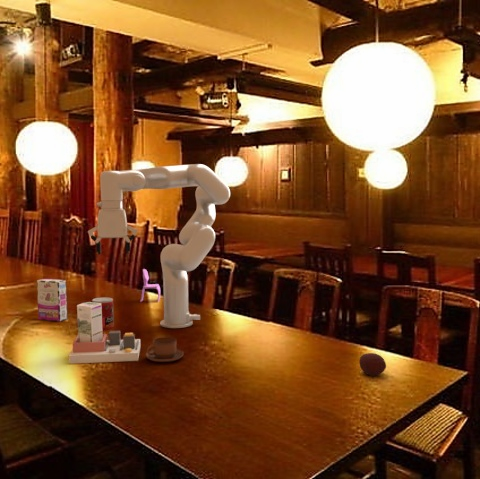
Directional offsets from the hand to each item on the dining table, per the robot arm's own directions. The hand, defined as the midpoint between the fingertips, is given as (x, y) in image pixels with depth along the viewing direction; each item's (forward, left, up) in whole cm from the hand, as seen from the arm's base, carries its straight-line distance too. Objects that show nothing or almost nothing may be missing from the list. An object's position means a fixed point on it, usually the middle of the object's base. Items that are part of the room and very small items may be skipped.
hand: (113, 253), depth 207 cm
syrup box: (+6, +22, -28) cm, 36 cm away
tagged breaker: (-6, +24, -28) cm, 37 cm away
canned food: (+6, -14, -31) cm, 34 cm away
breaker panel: (+1, +22, -30) cm, 37 cm away
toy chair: (-10, -61, -31) cm, 69 cm away
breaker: (-1, +19, -28) cm, 34 cm away
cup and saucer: (-18, +29, -31) cm, 46 cm away
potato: (-78, +52, -31) cm, 99 cm away
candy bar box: (+28, -30, -31) cm, 51 cm away
